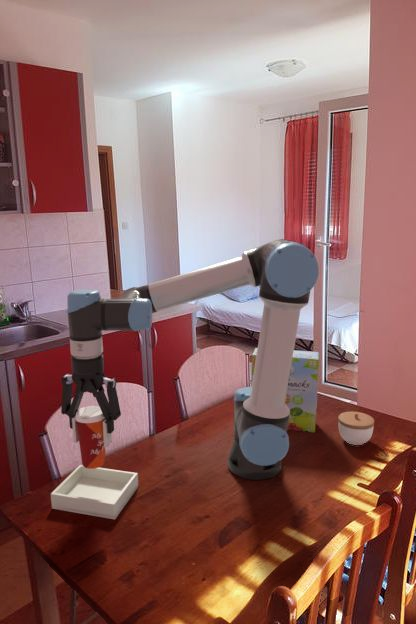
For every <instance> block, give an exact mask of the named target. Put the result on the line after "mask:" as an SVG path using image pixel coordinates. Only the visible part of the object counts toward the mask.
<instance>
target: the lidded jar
mask: <svg viewBox="0 0 416 624" xmlns="http://www.w3.org/2000/svg"><path fill="white" fill-rule="evenodd" d="M337 418H338V423H337V424H338V431H339V434H340V436H341V438H342V439H343V440H344V442H345V441H346V442H347V443H349V444H353V445H362V444H364V443H365V444H366V443H368V442H369V441H370V440H371V437H372V435H373V432H374V426H375V419H374V417H372V416H371V415H369V414H367V413H363V412H360V411H345V412H342V413H340V414H338V417H337ZM346 442H345V443H346ZM347 443H346V444H347ZM349 444H348V445H349ZM365 444H364V445H365ZM353 445H352V446H353ZM362 446H363V445H362Z"/></svg>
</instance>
